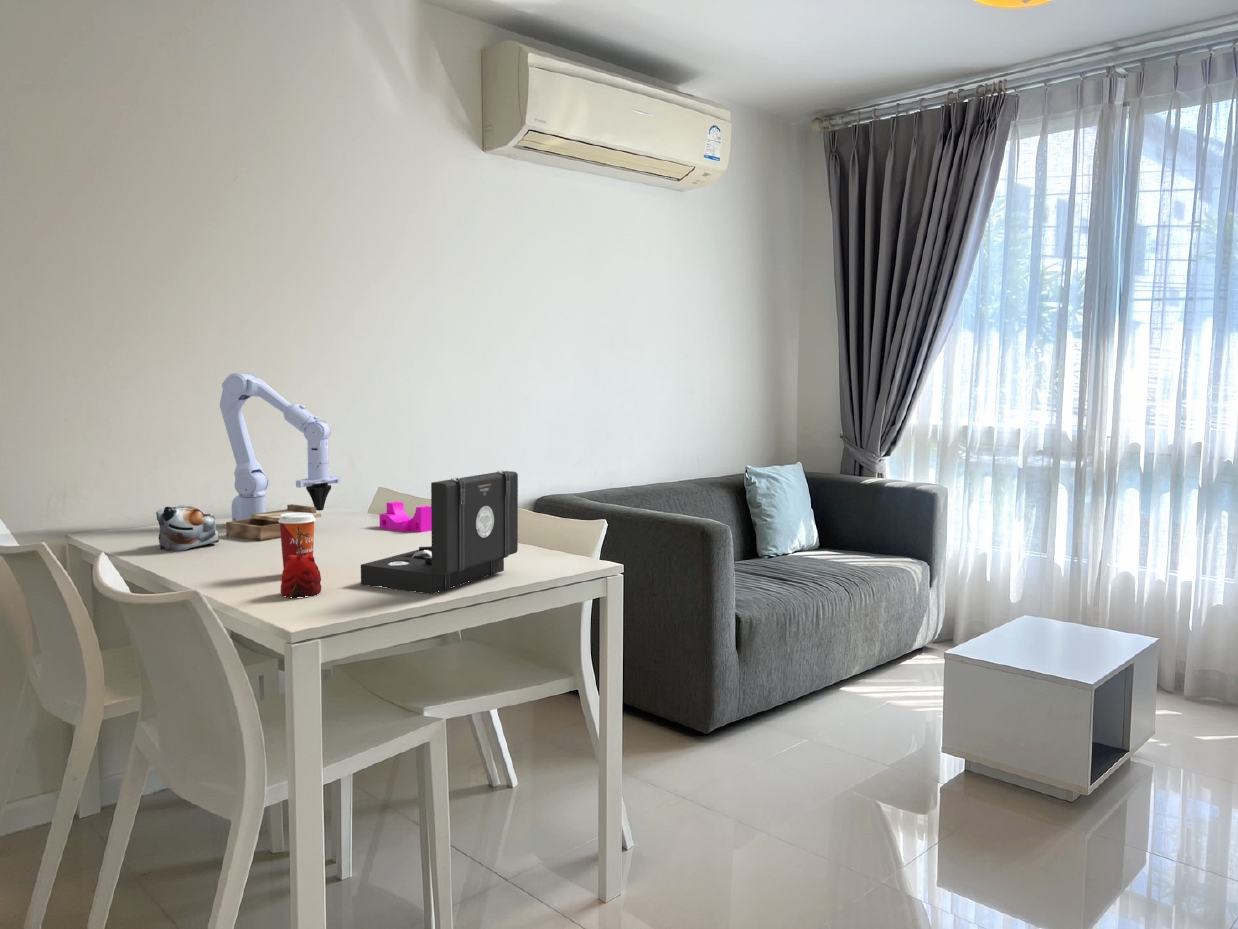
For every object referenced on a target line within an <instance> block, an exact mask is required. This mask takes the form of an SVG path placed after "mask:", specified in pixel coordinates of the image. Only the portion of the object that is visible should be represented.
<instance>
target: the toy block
mask: <svg viewBox="0 0 1238 929" xmlns="http://www.w3.org/2000/svg"><path fill="white" fill-rule="evenodd" d="M385 504H386V507H385V508H386V513H379V528H380V529H384V530H389V529H390V530H389V531H394V532H395V531H397V532H401V533H402V532H403V533H404V532H417V533H425V532H432V527H431V506H430V505H423V506H417V507H415V512H414V515H413V517H410V516H409V515H408V514H407V512H406V510H405V508H404V502H402V501H389V502H386V503H385Z"/></svg>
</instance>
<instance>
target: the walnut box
mask: <svg viewBox="0 0 1238 929" xmlns="http://www.w3.org/2000/svg"><path fill="white" fill-rule="evenodd" d="M225 526H226V527H225V529H226V530H225V532H226V537H227V538H235V539H241V540H247V539H248V540H247V541H255V542H265V541H271V540H277V539H281V533H280V523H279V522H277V521H269V520H262V519H255V518H251V519H244V520H238V521H232V520H230V521H226V522H225Z"/></svg>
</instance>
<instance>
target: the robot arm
mask: <svg viewBox="0 0 1238 929" xmlns="http://www.w3.org/2000/svg"><path fill="white" fill-rule="evenodd" d="M221 389H222V391H221V395H220V401H219V408H220V411H221V414H222V419H223V422H224V426H225V429H226V433H227V436H228V439H229V443H230V446H231V451H232V453H233V457H234V460H235V464H236V467H235V469H234V472H233V474H234V489H235V491H236V492H237V494H238V495H236V496H234V498H233V499H232V501H231V521H238V520H244V519H251V518H252V515H251V514H258V513H265V512H267V505H266V504H267V502H266V500H267V499H266V498H267V497H266V490H267V489H268V487H269V484H270V483H269V482H270V479H269V477H268V474H266V473H265V472H264V469H263V467H262V465H261V464H260V463H259V462H258V461H257V459H256V456H255V453H254V448H253V446H252V442H251V438H250V435H249V431H248V427H247V424H246V420H245V417H244V414H243V410H242V408H243V406H244V405H245V403H246V402H247V400H248V399H249V398H251V397H257V398H258V397H259V398H261V399H263V400H264V401H265V402H266V403H268V404H270V405H271V406H273V407H274V408H275V409H277V411H278V410H279V411H280V412H281V413H283V418H284V420H285V421H286V422H287V423H289V424H290V425H292V426H293V427H294V428H295V429H297V430H298V431H299V432H300V433H302V434H303V436H304V438H305V439H306V441H307V448H306V449H307V478H303V479H299V480H295V487H296V488H301V489H302V488H305V489H306V491H307V492H308V494H309V496H310V497H311V498H310V499H311V500H312V501H311V502H312V504H313V507H316V511H317V512H318V511H324V509H325V504H326V500H327V497H328V496H329V493H330V491H331V490H332V484H341V476H340V475H339V476H338V475H332V476H330V470H329V468H330V465H329V464H330V463H329V459H330V458H329V439H328V438H330V436H331V434H332V429H331V426H330V424H328V423H327V421H325V420H319V416H316V415H314V414H312V413H311V412H309V411H308V410H306V406H304V404H299V403H294V404H293V403H292V404H291V403H290V402H289V401H288V400H286V399H285V398H284V397H283V396H282V395H280V394H279V393H278V392H277V391H276V390H274V389H273V388H272V387H271V386H269V385H268V384H267V382H265V381H264V380H263V379H261V378H259V377H258V376H256V375H255V374H254V373H249V372H248V373H247V372H246V373H237V372H234V373H231V374H229V375H228V376H226V378H225V379H224V380H223V382H222V383H221Z"/></svg>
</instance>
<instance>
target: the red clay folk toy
mask: <svg viewBox="0 0 1238 929" xmlns="http://www.w3.org/2000/svg"><path fill="white" fill-rule="evenodd" d="M297 529H298V530H297ZM297 529H296V530H297V535H298V543H297V547H298V552H297V556H295V555H290V556H289V557H288V562H287V563H286V565H285V567H284V568H283V570H282V572H281V573H282V574H281V579H280V580H281V581H280V582H281V583H280V594H281V596H282V597H283V596H286V597H285V598H287V597H292V598H297V597H305V596H312V597H315V596H314V595H316V596H318V595H319V593H320V594H321V591H322V584H321V582H322V576H321V570H320V569H319V567H318V565H317V563H316V561H315V560H316V559H315V556H314V555H313V556H312V555H308V556H303V555H302V553H301V550H300V546H301V543H300V537H301V535H302V536H305V537H308V538H310V536H309V534H310V533H307V534H302V533H301V531H300V530H299V526H298V528H297ZM317 594H318V595H317Z"/></svg>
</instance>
